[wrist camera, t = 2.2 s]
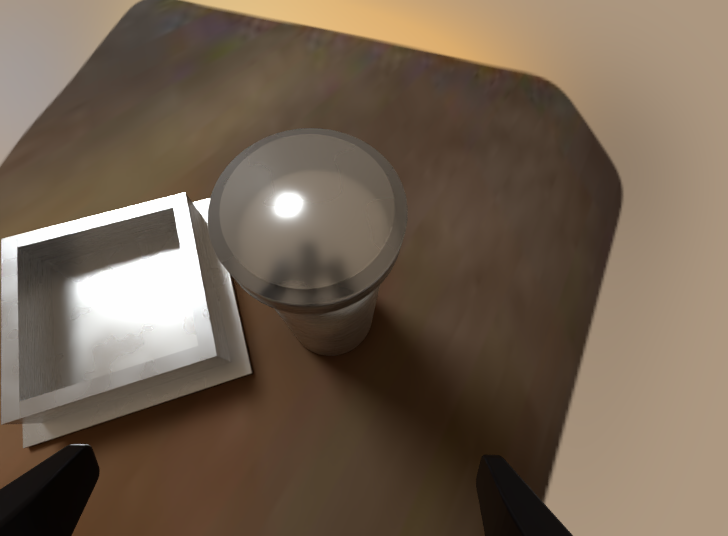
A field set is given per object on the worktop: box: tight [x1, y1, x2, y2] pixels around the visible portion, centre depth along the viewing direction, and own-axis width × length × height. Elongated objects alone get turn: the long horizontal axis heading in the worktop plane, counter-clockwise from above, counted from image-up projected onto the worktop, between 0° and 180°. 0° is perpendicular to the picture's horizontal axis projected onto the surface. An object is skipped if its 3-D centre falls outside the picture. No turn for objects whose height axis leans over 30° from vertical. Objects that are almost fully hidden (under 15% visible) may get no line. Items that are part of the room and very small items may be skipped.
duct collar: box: [1, 193, 253, 448], centre depth 21 cm, size 12×12×3 cm
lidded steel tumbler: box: [207, 128, 407, 356], centre depth 17 cm, size 6×6×13 cm
